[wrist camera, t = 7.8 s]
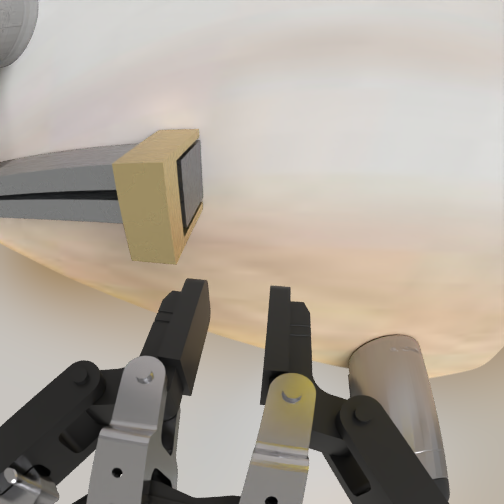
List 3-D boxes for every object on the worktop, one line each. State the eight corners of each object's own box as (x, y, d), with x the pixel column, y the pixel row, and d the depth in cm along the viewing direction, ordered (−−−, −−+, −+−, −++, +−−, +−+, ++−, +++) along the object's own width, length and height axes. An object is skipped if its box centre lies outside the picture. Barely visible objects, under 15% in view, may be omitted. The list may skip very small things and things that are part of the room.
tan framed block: (198, 129, 20) (162, 162, 14) (202, 208, 24) (176, 264, 18) (159, 130, 20) (112, 163, 15) (167, 207, 24) (131, 260, 18)
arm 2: (155, 174, 23) (131, 200, 19) (158, 195, 24) (135, 224, 20) (-2, 181, 24) (-29, 201, 20) (2, 195, 25) (-23, 216, 21)
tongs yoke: (200, 139, 21) (180, 160, 17) (203, 196, 24) (186, 227, 20) (161, 140, 21) (135, 161, 17) (167, 195, 24) (145, 225, 20)
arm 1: (151, 142, 21) (125, 163, 17) (154, 165, 22) (129, 189, 18) (-7, 163, 23) (-35, 182, 19) (-3, 178, 24) (-30, 198, 20)
